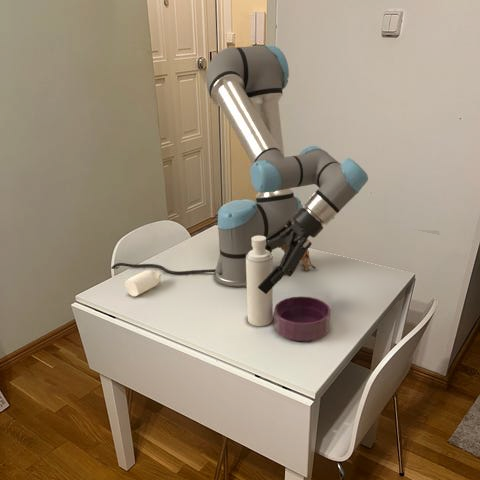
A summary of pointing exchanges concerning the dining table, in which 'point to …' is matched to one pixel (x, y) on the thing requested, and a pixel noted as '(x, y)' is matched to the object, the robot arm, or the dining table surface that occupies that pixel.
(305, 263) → the lion figurine
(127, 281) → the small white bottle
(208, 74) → the robot arm
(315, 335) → the bowl
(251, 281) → the spray bottle
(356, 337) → the dining table surface
